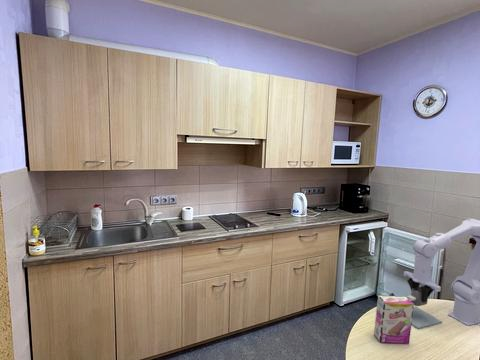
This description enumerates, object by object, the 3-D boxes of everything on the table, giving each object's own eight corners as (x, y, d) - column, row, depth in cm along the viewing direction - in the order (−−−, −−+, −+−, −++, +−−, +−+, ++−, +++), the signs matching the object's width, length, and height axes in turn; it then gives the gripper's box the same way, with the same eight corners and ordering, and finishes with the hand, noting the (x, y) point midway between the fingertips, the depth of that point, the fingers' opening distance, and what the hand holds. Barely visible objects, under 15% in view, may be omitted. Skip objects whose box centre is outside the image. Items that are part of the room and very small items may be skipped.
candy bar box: (380, 344, 94) (384, 302, 92) (373, 334, 99) (376, 294, 97) (410, 345, 94) (414, 303, 92) (401, 335, 99) (405, 295, 97)
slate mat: (416, 308, 117) (416, 306, 117) (441, 323, 107) (441, 321, 107) (393, 313, 113) (393, 311, 113) (417, 329, 102) (418, 327, 102)
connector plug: (420, 299, 112) (422, 286, 111) (429, 303, 108) (430, 290, 108) (404, 302, 109) (405, 289, 108) (412, 307, 105) (414, 293, 105)
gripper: (399, 262, 113) (397, 291, 114) (433, 278, 99) (430, 310, 101) (411, 261, 115) (408, 289, 117) (445, 275, 102) (442, 307, 103)
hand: (419, 299), depth 109 cm, fingers closed on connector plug, 4 cm apart
